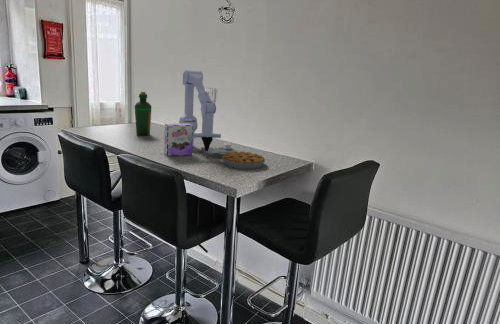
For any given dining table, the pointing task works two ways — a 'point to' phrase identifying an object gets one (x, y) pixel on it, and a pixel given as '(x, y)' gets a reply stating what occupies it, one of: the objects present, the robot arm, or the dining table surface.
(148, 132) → the bottle
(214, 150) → the slider front
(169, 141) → the candy box
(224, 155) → the pie
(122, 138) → the dining table surface
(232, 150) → the control box
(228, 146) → the slider back
